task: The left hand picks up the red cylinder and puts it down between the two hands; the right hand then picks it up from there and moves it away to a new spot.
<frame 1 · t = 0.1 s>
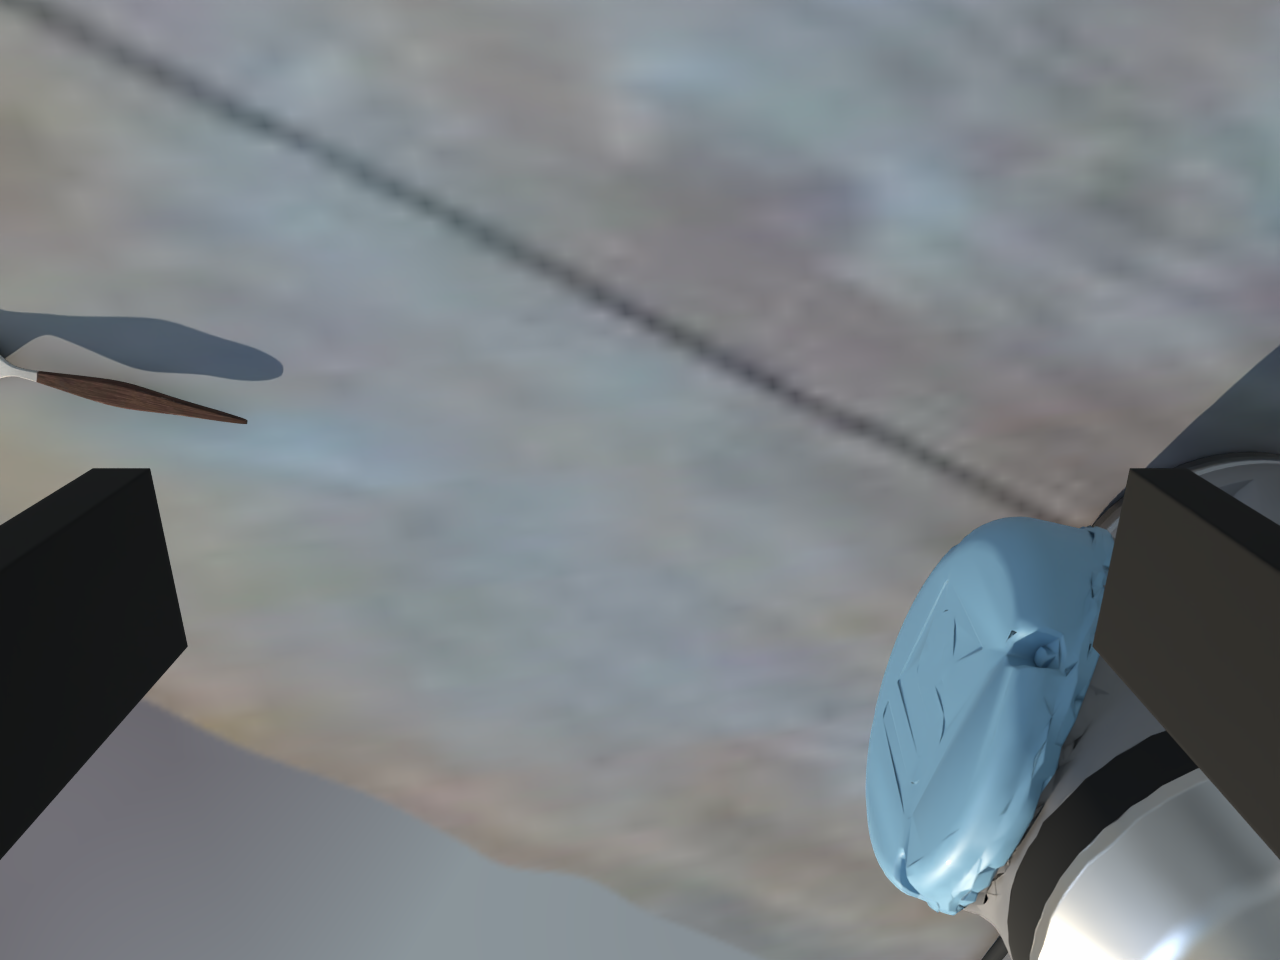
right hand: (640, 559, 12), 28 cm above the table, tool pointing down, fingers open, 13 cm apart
fork: (73, 378, 40), on the table
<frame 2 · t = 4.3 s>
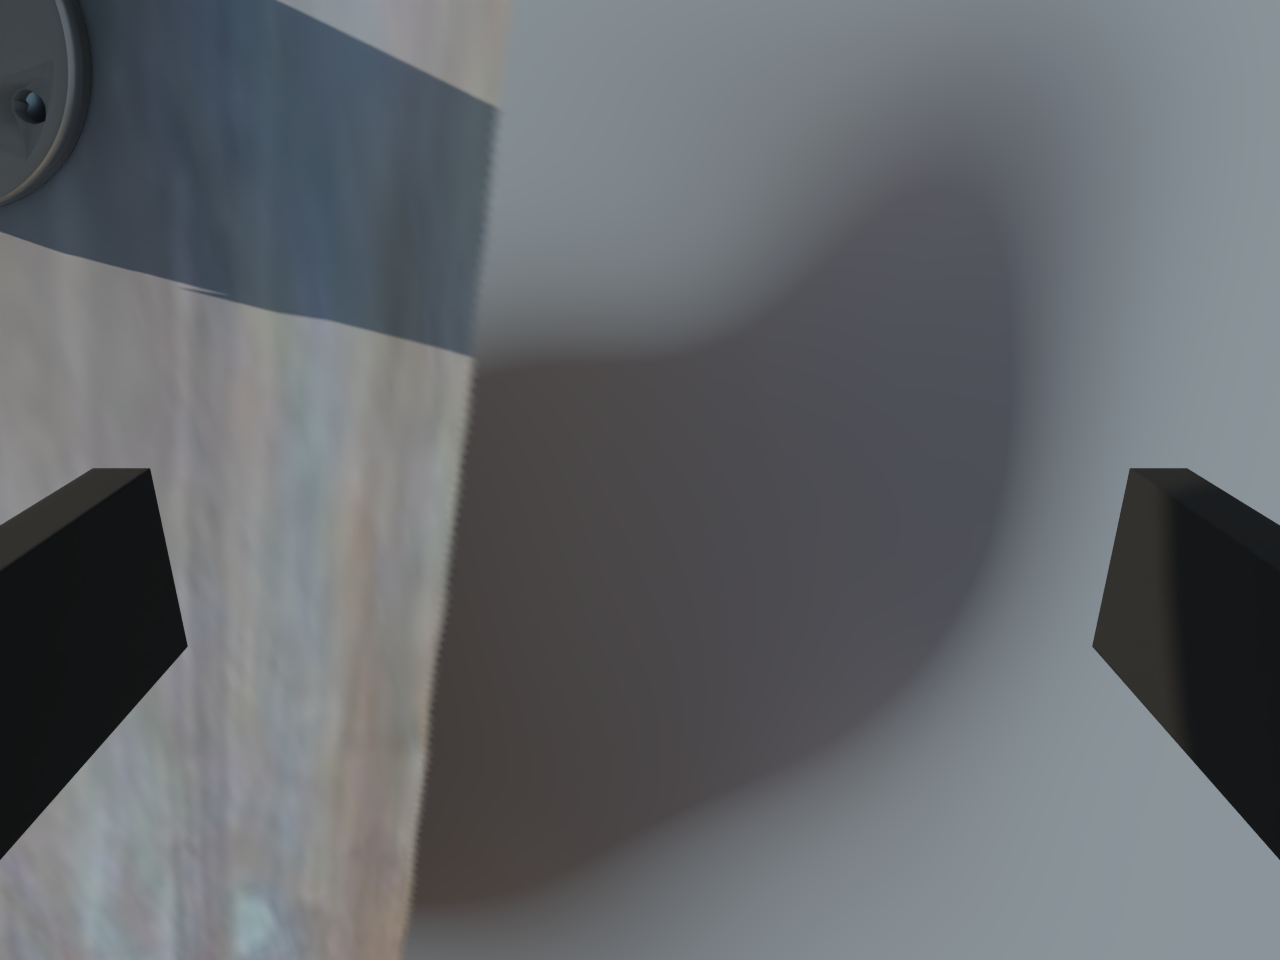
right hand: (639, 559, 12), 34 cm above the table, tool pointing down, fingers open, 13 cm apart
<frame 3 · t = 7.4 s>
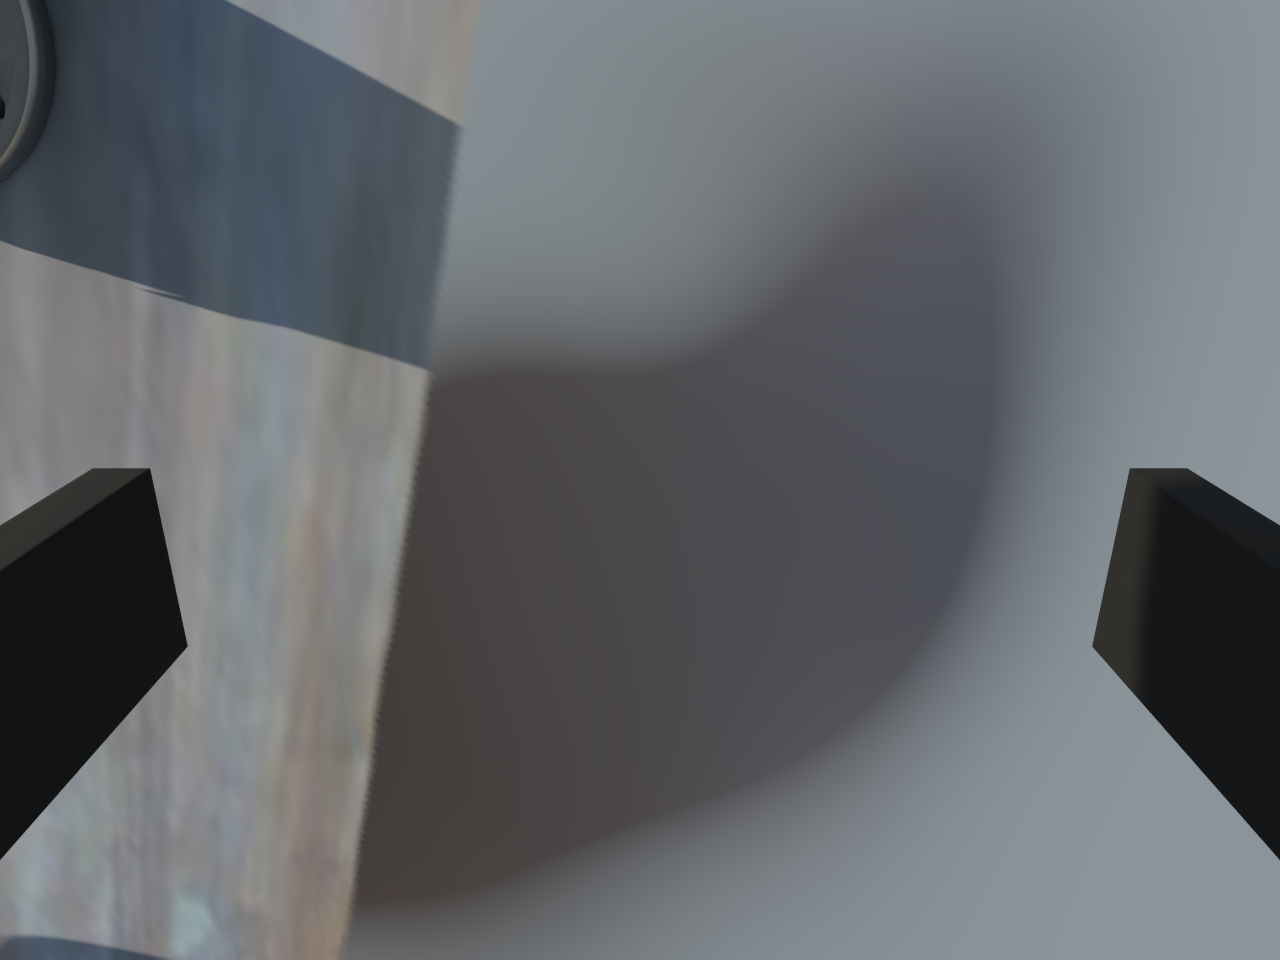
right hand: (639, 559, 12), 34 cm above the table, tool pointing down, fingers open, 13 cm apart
when the left hand's fingers open (5 cm above the table, at t = 10.4 s): red cylinder drops 1 cm, on the table.
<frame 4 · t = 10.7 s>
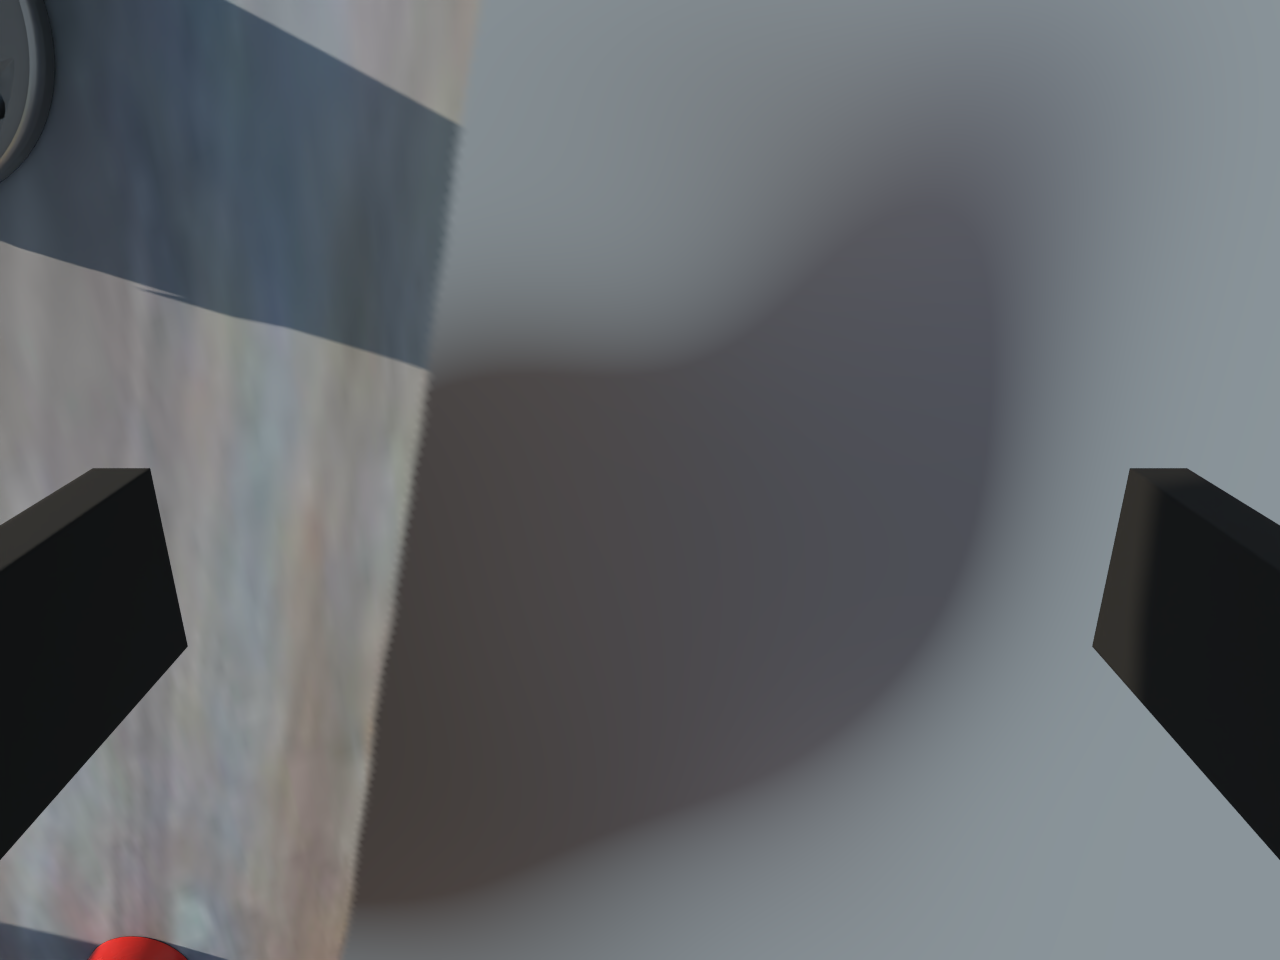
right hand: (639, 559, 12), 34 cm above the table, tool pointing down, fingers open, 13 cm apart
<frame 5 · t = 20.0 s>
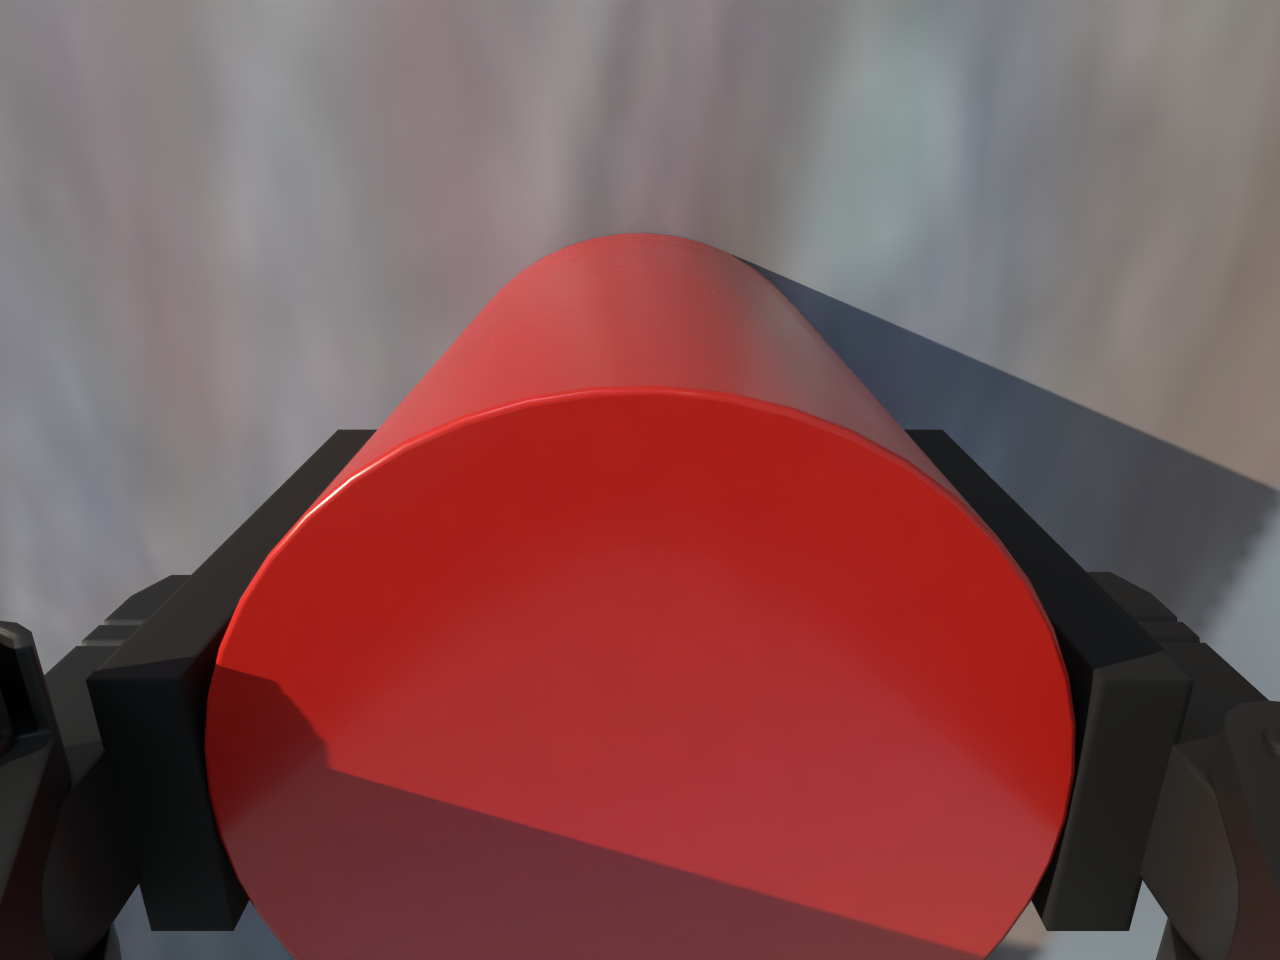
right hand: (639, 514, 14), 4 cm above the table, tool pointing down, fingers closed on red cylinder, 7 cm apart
red cylinder: (640, 431, 17), on the table, touching right hand
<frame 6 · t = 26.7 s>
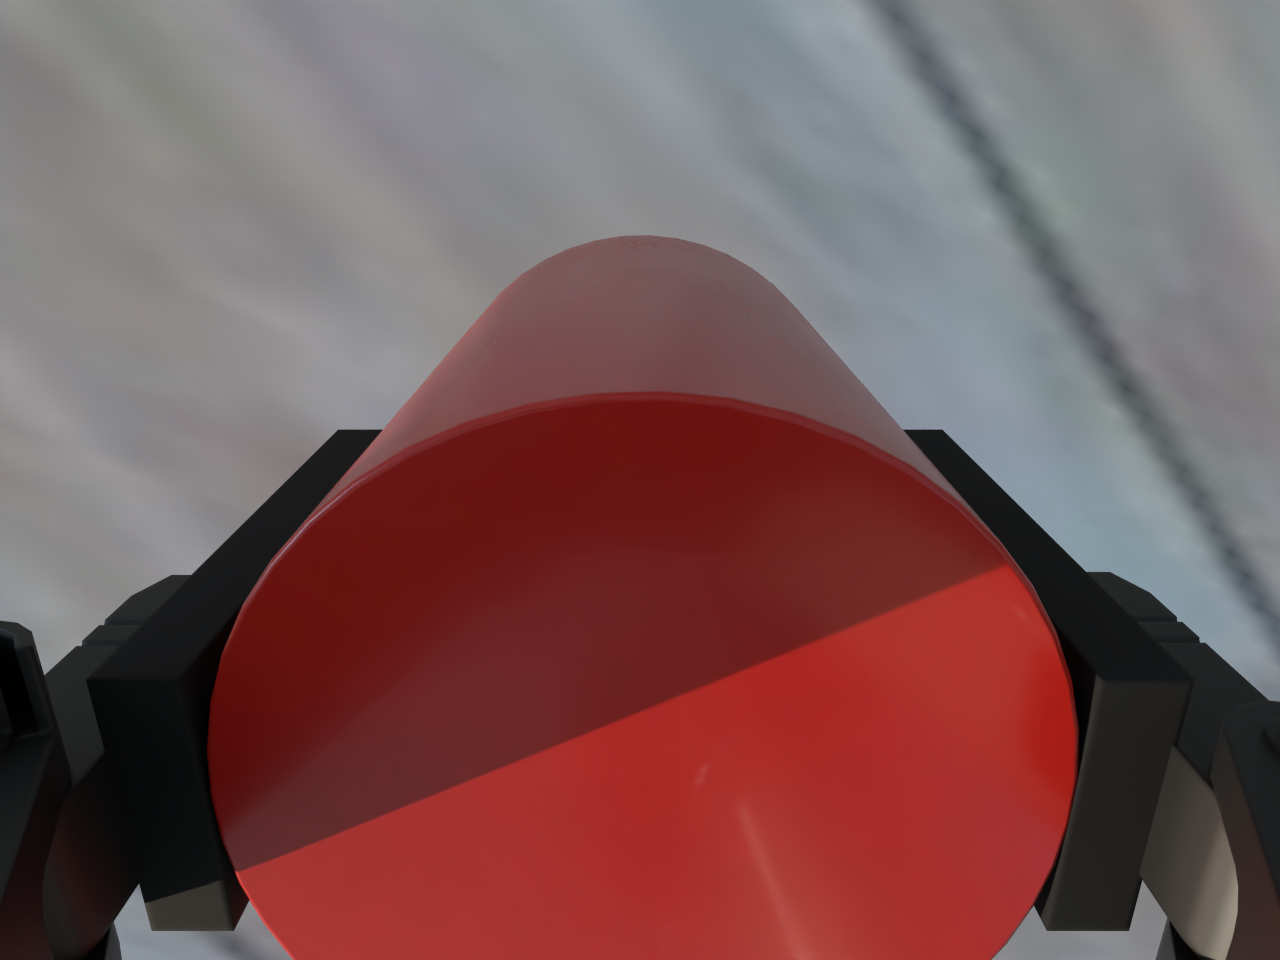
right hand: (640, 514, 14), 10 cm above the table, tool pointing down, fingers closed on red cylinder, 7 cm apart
red cylinder: (641, 433, 17), point 6 cm above the table, touching right hand
when the right hand's fingers open (5 cm above the table, at t = 33.7 s): red cylinder drops 1 cm, on the table.
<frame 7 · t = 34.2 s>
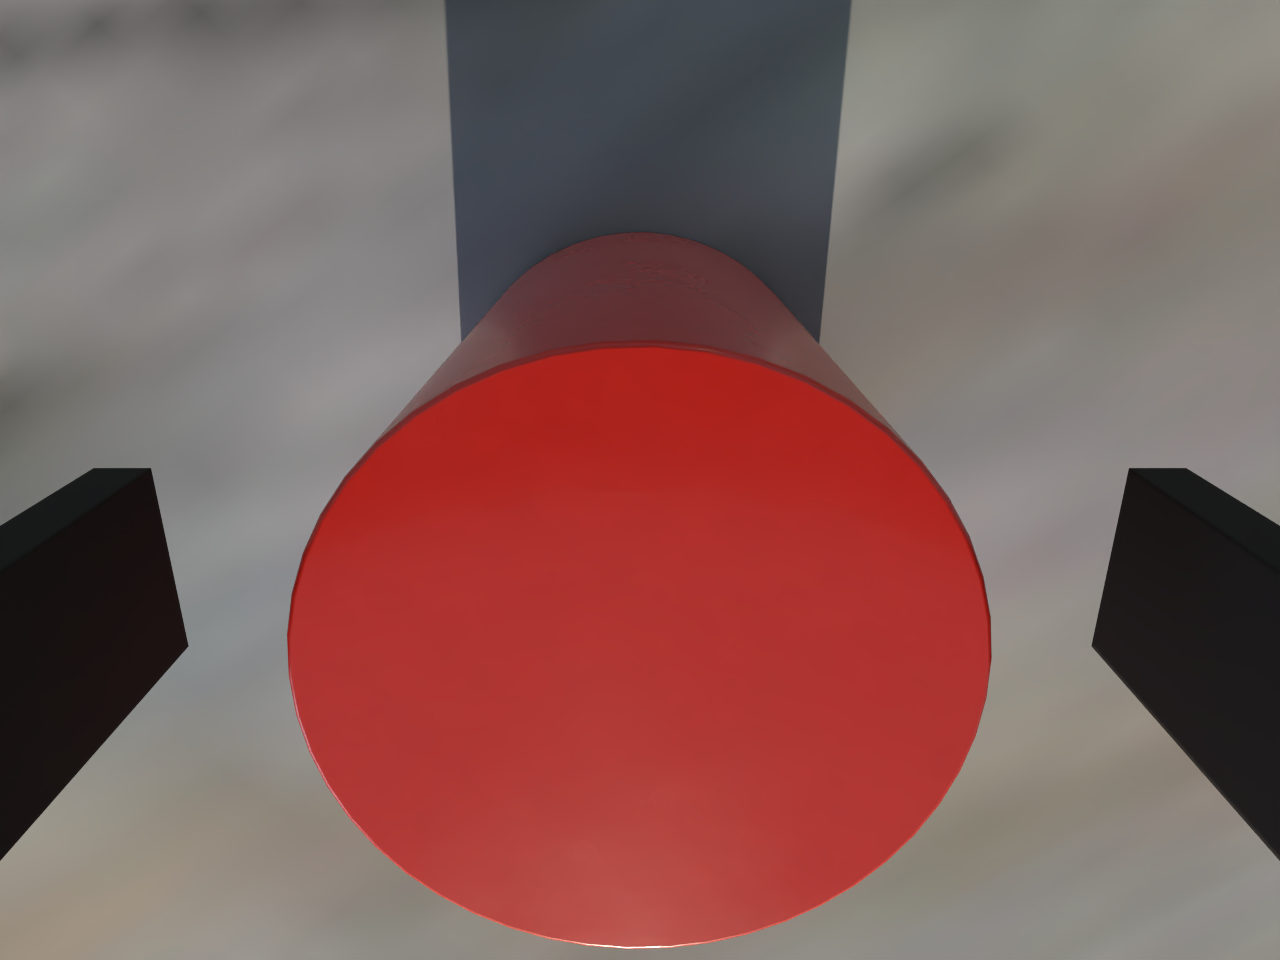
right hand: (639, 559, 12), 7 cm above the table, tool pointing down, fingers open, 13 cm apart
red cylinder: (638, 412, 19), on the table
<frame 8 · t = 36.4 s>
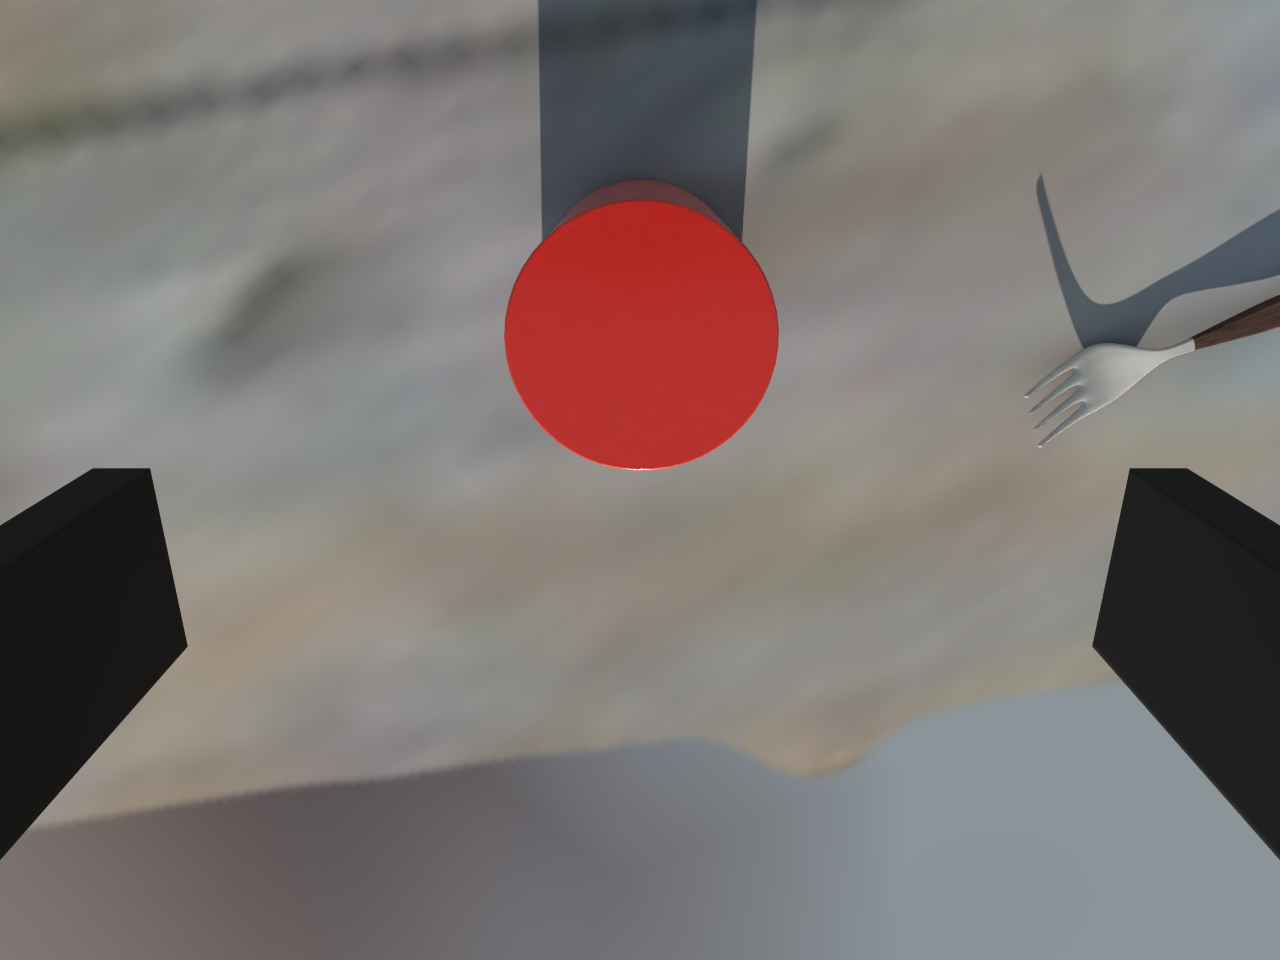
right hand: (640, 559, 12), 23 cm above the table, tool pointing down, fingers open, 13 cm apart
fork: (1211, 328, 35), on the table
red cylinder: (641, 282, 34), on the table
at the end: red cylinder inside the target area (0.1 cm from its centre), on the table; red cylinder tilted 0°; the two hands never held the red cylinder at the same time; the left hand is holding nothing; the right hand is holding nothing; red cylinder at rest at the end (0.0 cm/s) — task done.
